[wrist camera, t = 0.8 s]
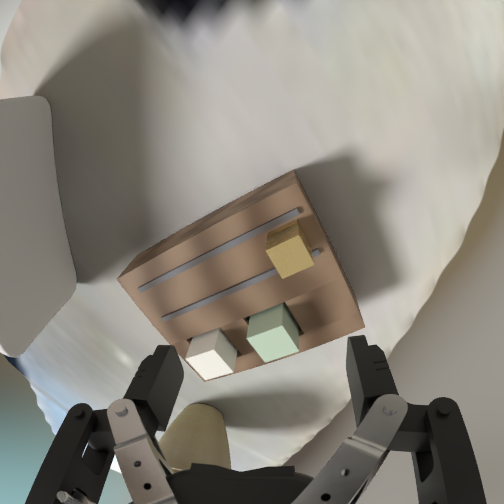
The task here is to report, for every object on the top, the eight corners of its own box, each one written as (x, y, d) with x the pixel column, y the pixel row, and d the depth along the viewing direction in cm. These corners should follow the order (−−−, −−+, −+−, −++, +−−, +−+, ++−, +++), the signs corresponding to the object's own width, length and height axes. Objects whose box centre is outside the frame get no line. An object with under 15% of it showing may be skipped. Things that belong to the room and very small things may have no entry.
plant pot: (179, 379, 48) (153, 458, 33) (255, 410, 50) (247, 487, 35) (157, 413, 54) (135, 477, 40) (222, 438, 56) (211, 502, 42)
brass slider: (296, 219, 27) (298, 234, 24) (311, 246, 28) (314, 264, 25) (267, 233, 28) (265, 250, 25) (282, 259, 29) (282, 279, 26)
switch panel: (293, 169, 31) (296, 183, 25) (355, 297, 37) (365, 329, 31) (137, 255, 37) (115, 281, 32) (212, 351, 43) (204, 383, 38)
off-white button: (221, 320, 35) (213, 349, 31) (239, 343, 37) (233, 372, 32) (195, 330, 37) (185, 358, 32) (212, 351, 38) (205, 380, 34)
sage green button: (282, 296, 33) (282, 325, 29) (297, 321, 35) (299, 351, 30) (250, 309, 34) (246, 338, 30) (267, 332, 36) (265, 362, 31)
